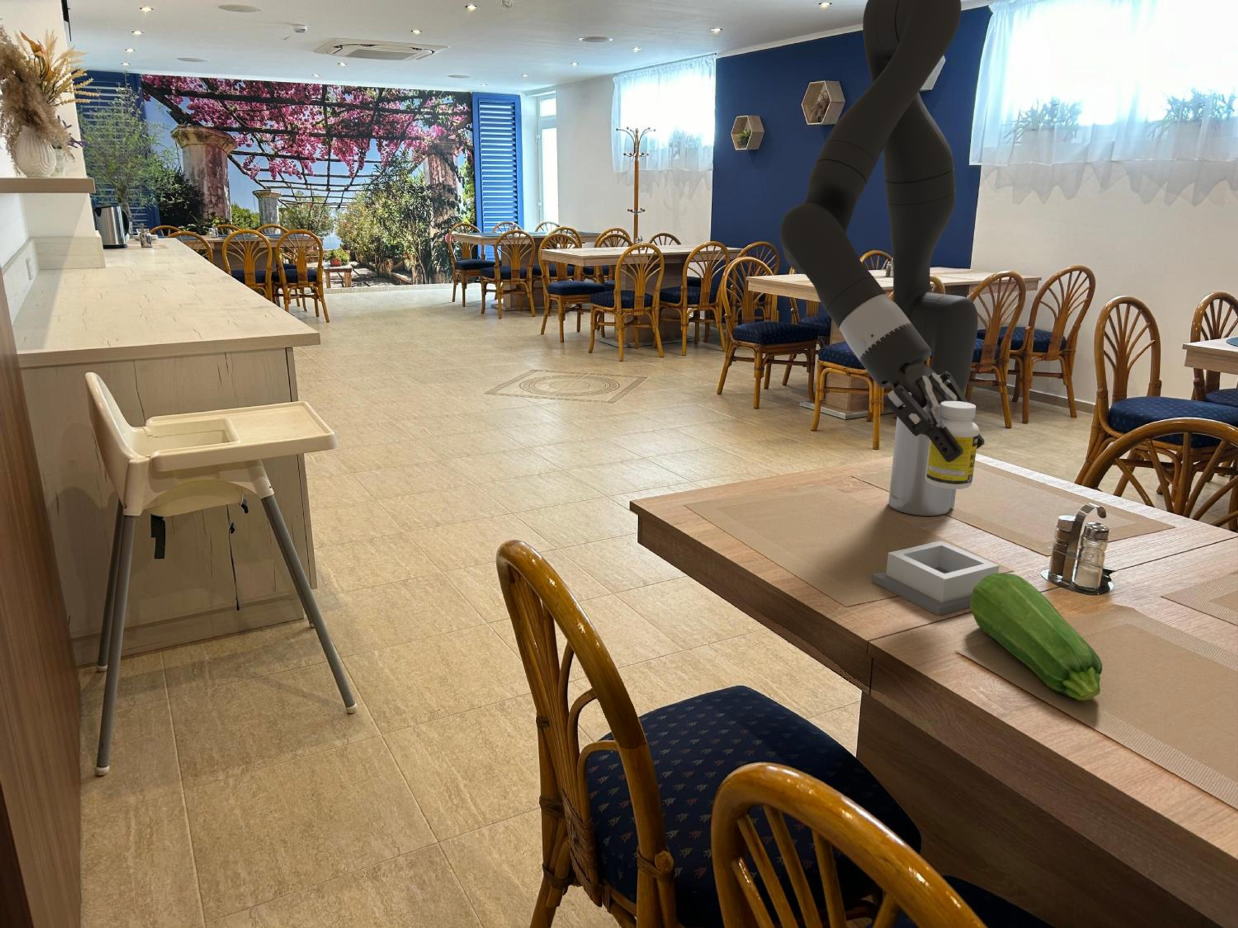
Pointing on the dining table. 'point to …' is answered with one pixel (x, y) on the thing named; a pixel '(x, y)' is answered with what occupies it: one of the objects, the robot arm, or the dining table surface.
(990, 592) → the vegetable
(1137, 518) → the dining table surface
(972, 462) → the supplement bottle
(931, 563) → the board
